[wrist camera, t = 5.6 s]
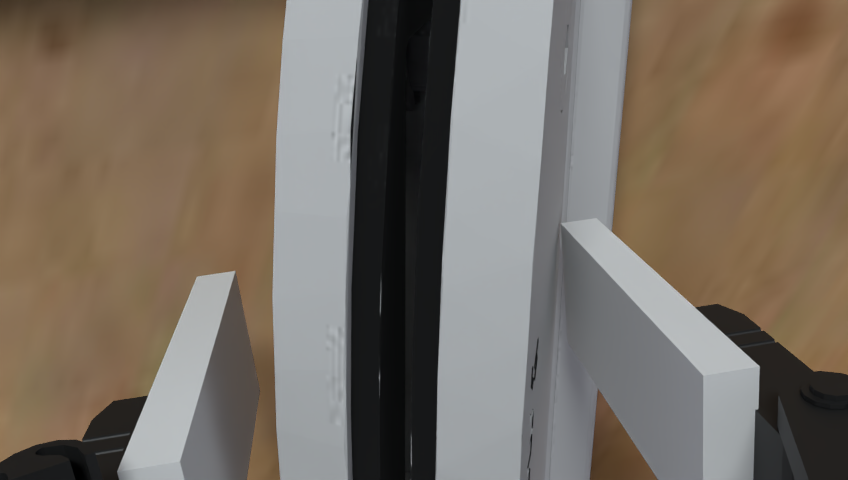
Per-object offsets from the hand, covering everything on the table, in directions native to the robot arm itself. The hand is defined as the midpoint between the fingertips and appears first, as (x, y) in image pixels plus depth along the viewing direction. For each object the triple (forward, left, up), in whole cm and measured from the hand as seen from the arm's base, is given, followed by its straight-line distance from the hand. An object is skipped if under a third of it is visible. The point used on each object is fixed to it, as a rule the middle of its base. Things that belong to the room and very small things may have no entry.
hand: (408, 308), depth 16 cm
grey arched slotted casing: (-1, 0, -3) cm, 4 cm away
